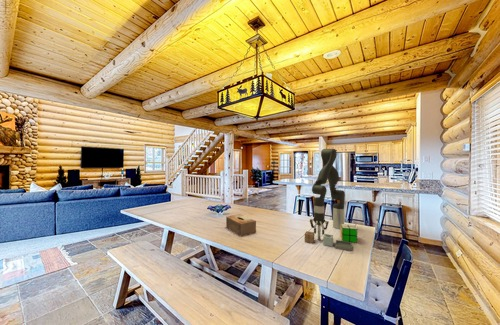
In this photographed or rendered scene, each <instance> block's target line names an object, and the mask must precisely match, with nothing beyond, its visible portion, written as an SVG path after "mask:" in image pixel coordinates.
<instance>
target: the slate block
mask: <svg viewBox="0 0 500 325" xmlns="http://www.w3.org/2000/svg"><path fill="white" fill-rule="evenodd" d="M322 236H323V244H322V245H323V246H327V247H331V248H333V247H334V246H333V245H334V235H333V234H328V233H324V234H323V235H322Z"/></svg>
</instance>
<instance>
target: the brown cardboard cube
mask: <svg viewBox="0 0 500 325" xmlns="http://www.w3.org/2000/svg"><path fill="white" fill-rule="evenodd" d="M304 243H309V244H314V243H315V233H314V231H307V230H306V231H305V232H304Z"/></svg>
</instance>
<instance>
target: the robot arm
mask: <svg viewBox="0 0 500 325" xmlns="http://www.w3.org/2000/svg"><path fill="white" fill-rule="evenodd" d="M337 155H338V151H337V150H336V149H335V148H323V149H321V151H320V157H321V159H322V160H321V161H322V162H323V167H322V168H321V170H320V171H319V172H318V175H317V179H316V180H315V182H314V184H313V185H312V188H311V193H312V194H314V195H319V197H314V200H313V202H314V203H313V205H314V207H313V219H312V218H310V219H309V223H310V227H311V228H312V229H313V232H314V235H316V234H317V227H318V225H321V236H324V234H325V231H326V230H327V229H328V227H329V223H330V222H329V221H328V220H326V219H325V198H326V195H327V191H328V190H327V187H326V186H325V184H327V182H328V185H329V191H330V197H331V200H333V201H339V202H337V203H334V204H333V205H332V227H333V228H334V229H337V230H340V226H341V224H345V206H346V204H345V203H346V202H345V200H346V192H345V190H344V189H343V190H341V189H336V185H337V184H338V182H339V181H340V176H339V171H338V170H337V168H336V167H335V166H334V164H335V161H336V159H337ZM324 224H325V226H324Z"/></svg>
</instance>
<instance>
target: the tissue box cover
mask: <svg viewBox="0 0 500 325" xmlns="http://www.w3.org/2000/svg"><path fill="white" fill-rule="evenodd" d="M225 219H226V220H225V222H226V225H225V226H226V228H227V229H229V230H230V231H232V232H233V233H235V234H236V235H238V236H240V237H243V236H247V235H248V236H249V235H251V234H256V233H257V221H256V220H254V219H252V218H251V217H249V216H245V215H244V214H242V213H238V214H232V215H227V216H226V217H225Z"/></svg>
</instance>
